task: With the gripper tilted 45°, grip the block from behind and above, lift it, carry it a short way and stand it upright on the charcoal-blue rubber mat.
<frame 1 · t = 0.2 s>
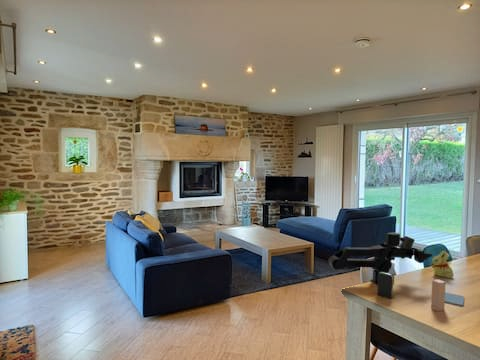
hand: (426, 252, 178), 17 cm above the table, tool horizontal, fingers open, 9 cm apart
mat: (452, 299, 157), on the table
block: (437, 308, 146), on the table
battery charger: (385, 296, 159), on the table
chocolate bunny: (441, 276, 190), on the table
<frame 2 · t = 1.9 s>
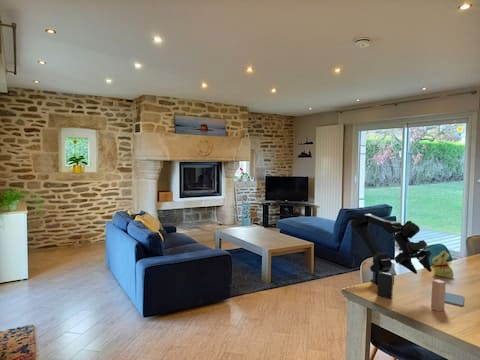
hand: (423, 272, 153), 14 cm above the table, tool tilted 45°, fingers open, 9 cm apart
nothing on the table moved.
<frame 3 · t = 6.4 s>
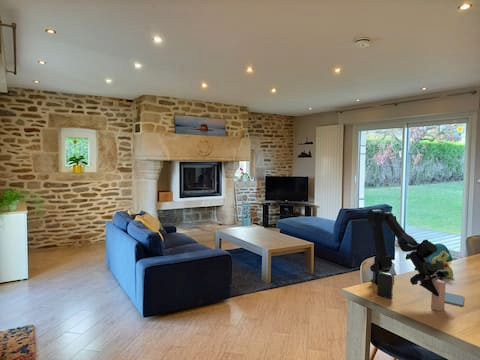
hand: (441, 295, 144), 7 cm above the table, tool tilted 45°, fingers closed on block, 4 cm apart
block: (437, 308, 146), on the table, touching gripper
everything else where it was.
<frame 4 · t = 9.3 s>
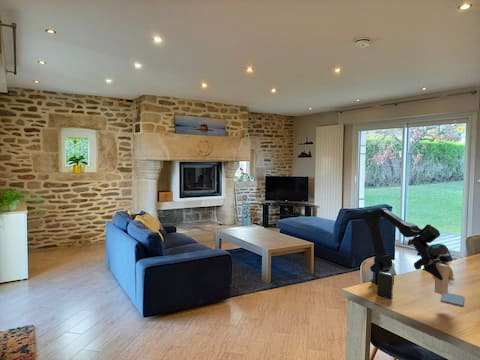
hand: (444, 279, 145), 14 cm above the table, tool tilted 45°, fingers closed on block, 4 cm apart
block: (441, 292, 146), point 7 cm above the table, touching gripper
everything else where it was.
when the fingers open (8 cm above the table, at t = 12.5 s): block stays where it is, resting on mat.
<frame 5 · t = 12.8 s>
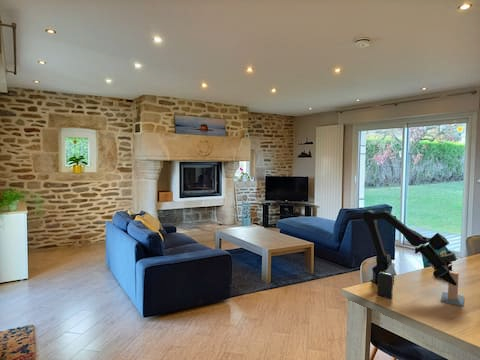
hand: (456, 283, 155), 8 cm above the table, tool tilted 45°, fingers open, 6 cm apart
block: (452, 298, 157), point 1 cm above the table, touching mat
everything else where it was.
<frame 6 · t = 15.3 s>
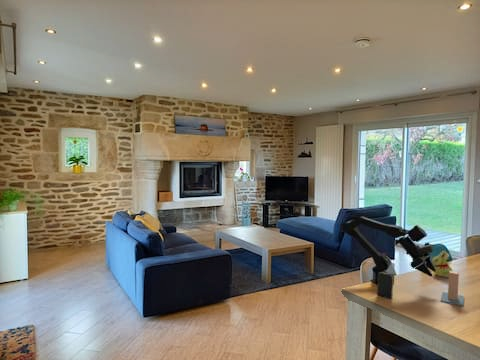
hand: (433, 273, 161), 11 cm above the table, tool tilted 45°, fingers open, 9 cm apart
nothing on the table moved.
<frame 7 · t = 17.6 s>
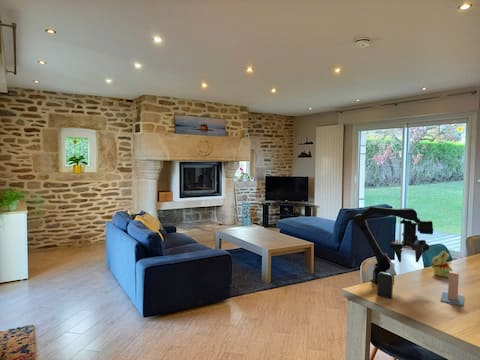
hand: (408, 262, 172), 13 cm above the table, tool pointing down, fingers open, 9 cm apart
nothing on the table moved.
at the end: block inside the target area on the mat (0.1 cm from its centre), point 0.6 cm above the mat's base; block tilted 0°; the gripper is holding nothing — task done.
